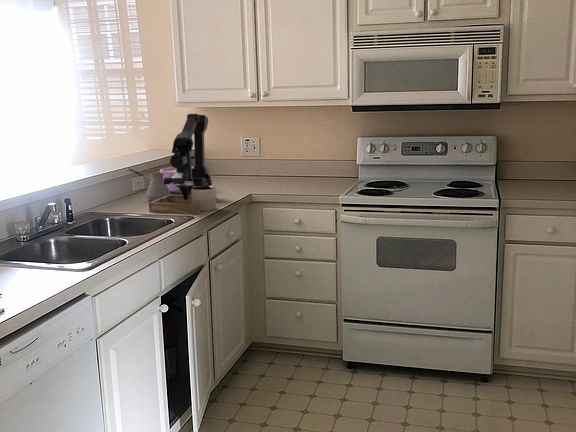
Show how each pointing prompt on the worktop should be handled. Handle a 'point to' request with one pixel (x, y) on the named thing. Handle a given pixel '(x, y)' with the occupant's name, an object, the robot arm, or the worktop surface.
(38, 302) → the worktop surface
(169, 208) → the wooden tray
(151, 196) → the coffee pot
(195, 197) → the planter
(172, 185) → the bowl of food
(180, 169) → the robot arm
